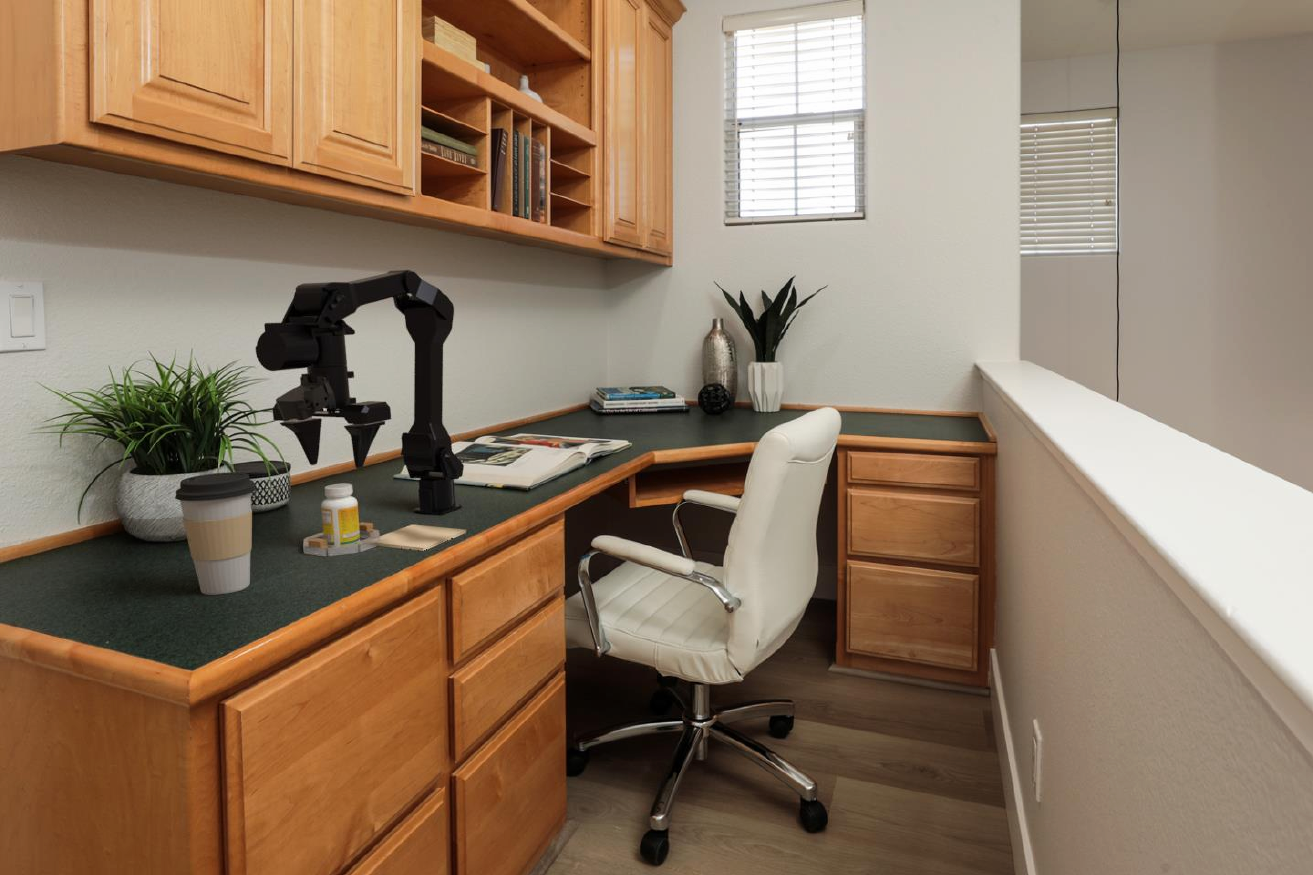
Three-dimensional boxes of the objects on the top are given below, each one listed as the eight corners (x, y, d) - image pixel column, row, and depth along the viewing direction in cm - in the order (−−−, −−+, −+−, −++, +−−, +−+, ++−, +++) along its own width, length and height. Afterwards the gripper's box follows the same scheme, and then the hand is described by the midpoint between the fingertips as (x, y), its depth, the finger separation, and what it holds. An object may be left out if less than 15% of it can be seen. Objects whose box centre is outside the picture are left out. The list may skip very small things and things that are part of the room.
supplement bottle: (319, 550, 123) (314, 490, 121) (330, 541, 128) (325, 483, 126) (355, 549, 123) (350, 488, 122) (364, 539, 128) (360, 481, 127)
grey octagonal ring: (341, 532, 133) (340, 520, 132) (395, 538, 128) (394, 525, 128) (287, 551, 122) (286, 537, 122) (343, 558, 118) (342, 544, 118)
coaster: (412, 527, 135) (412, 524, 135) (466, 532, 131) (466, 529, 131) (366, 544, 125) (366, 541, 125) (423, 551, 121) (422, 547, 121)
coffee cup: (177, 588, 106) (164, 478, 104) (252, 571, 113) (241, 468, 111) (197, 605, 100) (184, 488, 97) (275, 586, 106) (265, 477, 104)
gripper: (237, 369, 117) (248, 472, 120) (334, 370, 110) (344, 480, 113) (297, 364, 127) (306, 459, 130) (389, 364, 120) (397, 465, 123)
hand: (336, 466), depth 123 cm, fingers open, 9 cm apart
